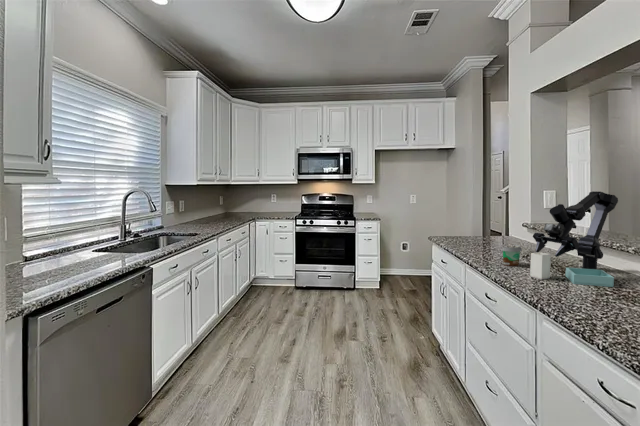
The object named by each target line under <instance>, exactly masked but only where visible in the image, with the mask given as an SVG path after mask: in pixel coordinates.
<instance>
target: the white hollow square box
mask: <svg viewBox="0 0 640 426" xmlns="http://www.w3.org/2000/svg"><path fill="white" fill-rule="evenodd" d="M529 268H530V270H529V271H530V273H529V277H530V278H533V279H538V280H540V281H541V280H546V279H547V280H548V279H550V277H551V253H545V252H541V251H539V252H532V253H530V267H529Z"/></svg>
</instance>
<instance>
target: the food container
mask: <svg viewBox="0 0 640 426" xmlns="http://www.w3.org/2000/svg"><path fill="white" fill-rule="evenodd" d="M521 251H523V249H522V247H521V245H519V244H513V246H502V263H503V265H504V267H519V266H520V257H521Z"/></svg>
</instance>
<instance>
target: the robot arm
mask: <svg viewBox="0 0 640 426" xmlns="http://www.w3.org/2000/svg"><path fill="white" fill-rule="evenodd" d="M618 203H619V197H617V196H616V195H615V194H609V193H605V192H603V191H599V190H597V191H596V190H595V191H590V192H589V193H588V195H586V196H585V197H584V198H582V199H581V200H580V201H579V202H577V203H576V204H573V205H570V206H567V207H565V205H564V204H563V203H558V204H557V205H555V206H553V207H551V208H550V209H549V213H550V215H551V217H552V218H553V220H554V222H556V223H557V224H553V223H545V225H544V228H543V231H545V232H546V233H547V235H548V236H546V235H545V233H543V232H534V233H533V235H532V238H533V240H535V242H536V246H535V252H534V253H536V252H541V251H542V250H543V249H544V248H545V247H546V245H547V244H548V242H551V243H554V244H560V246H559V248H558V249H557V251H556V252H555V254H554V256H555V257H557V258H558V257H559V256H560V257H561V256H562V255H564V254H566V253H569V252H572V251H574V250H575V251H576V252H577V257H582V265H580V266H579V268H582V269H597V270H600V269H599V268H598V260H602V259H603V257H604V253H603V251H602V250H601V248H600V247H601V244H600V241H599V239H600V236H601V233H602V230H603V228H604V225H605V222H606V220H607V217H608V214H609V213H610V212H612V211H613V210H615V208H616V206H617V204H618ZM593 206H594V208H595V211H594V215H593V216H592V220H591V222H590V225H589V227H588V229H587V232H586V235H584V237H583V236H580V238H579V239H578V240H577V239H576V237H574V236H571V235H570V232H571V231H572V229H575V230H576V229H577V223H576V222H575V221H581V220H583V218H585V216H586V212H587V211H588V210H589V209H591V208H592V207H593Z"/></svg>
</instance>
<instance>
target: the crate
mask: <svg viewBox="0 0 640 426" xmlns="http://www.w3.org/2000/svg"><path fill="white" fill-rule="evenodd" d="M597 269H598V268H597ZM597 269H582V268H580V267H565V277H566V278H567V279H568V280H569V281H570V282H571V283H572V284H573V285H583V286H584V285H586V286H597V287H609V288H613V287H614V283H615V279H614V278H615V277H614V276H612V275H611V274H610V273H608V272H606V271H605V270H603V269H599V270H597Z"/></svg>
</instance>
